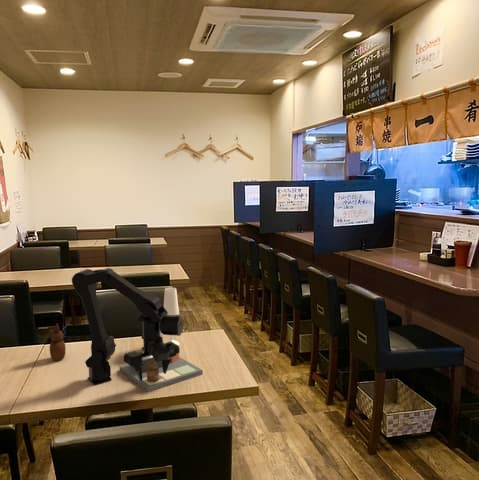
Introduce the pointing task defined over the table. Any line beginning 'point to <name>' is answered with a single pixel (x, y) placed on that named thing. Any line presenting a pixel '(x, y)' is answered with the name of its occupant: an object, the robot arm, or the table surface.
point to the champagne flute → (171, 306)
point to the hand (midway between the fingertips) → (152, 376)
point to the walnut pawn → (152, 372)
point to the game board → (173, 375)
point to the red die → (175, 358)
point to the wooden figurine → (57, 344)
